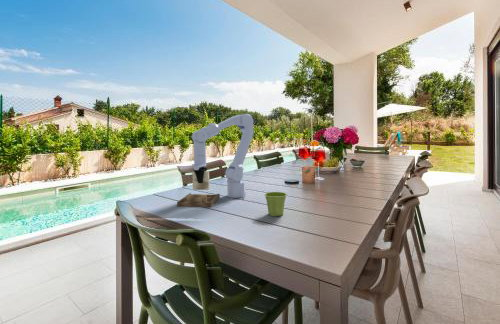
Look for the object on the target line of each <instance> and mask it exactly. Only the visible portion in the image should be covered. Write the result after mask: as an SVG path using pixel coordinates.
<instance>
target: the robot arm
mask: <svg viewBox="0 0 500 324" xmlns="http://www.w3.org/2000/svg"><path fill="white" fill-rule="evenodd" d="M230 126H236V127H237V128H238V129H239V130H240V131H241V133H242V135H241V137H240V140H239V143H238V146H237V148H236V152H235V153H234V154H235V155H234V157H233V160H232V162H231V163H230V164H229V166H228V168H226V170H225V173H224V174H225V177H226V178H227V181H226V182H227V186H226V187H227V198H234V199H235V198H242V200H245V198H246V195H247V194H246V193H247V192H246V181H243V180H242V179H243V178H244V169H245V167H244V166H243V164H244V162H245V160H246V156H247V153H248V150H249V147H250V145H251V143H252V139H253V136H254V119H253V117H252V115H251V114H249V113H245V114H243V113H242V114H237V115H233V116H231V117H229V118H226V119H225V120H224V121H221V122H219V123H218V124H216V123H208V125H206V126H205V127H201V128H200V129H199V130H195V131H194V132H193V133H192V135H191V139H192V141H193V161H194V162H193V163H192V164H191V166H192V167H193V168H192V172H193V171H194V172H195V174H196V177H197V181H198V183H203V176H204V172H205V171H208V167H207V151H206V149H207V148H206V141H207V140H208V139H211V138H212V137H213V138H214V137H215V136H217V135H219V133H220V132H221V131H222V130H223V129H226V128H228V127H230Z"/></svg>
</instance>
